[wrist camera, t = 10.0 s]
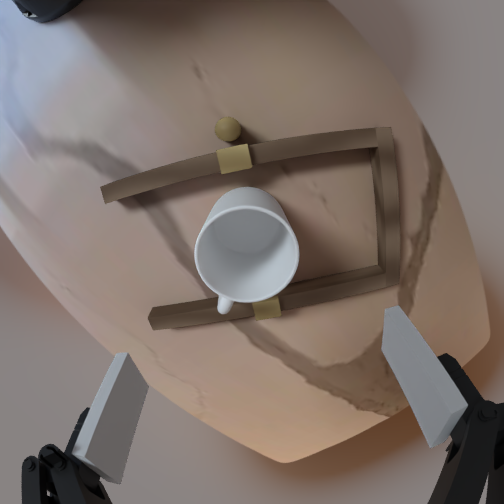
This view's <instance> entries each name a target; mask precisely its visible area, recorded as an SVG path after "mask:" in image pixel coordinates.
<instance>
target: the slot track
mask: <svg viewBox="0 0 504 504" xmlns="http://www.w3.org/2000/svg"><path fill="white" fill-rule="evenodd" d="M215 133H216V135H217V136H218V138H219V139H221V140H223V141H234V140H236V139H237V138H238V137H239V136H240V134H241V127H240V124H239V122H238V121H237V120H236V119H234V118H232V117H224V118H222V119H220V120H219V121H218V122H217V124H216V126H215ZM368 147H369V150H370V157H371V165H372V173H373V183H374V193H375V205H376V220H377V240H378V265H375V266H371V267H366V268H362V269H357V270H353V271H349V272H344V273H339V274H335V275H330V276H325V277H321V278H316V279H311V280H306V281H301V282H296V283H291V284H288V285H287V286H286V287H285V288H284V289H283V290H281V291H280V292H279V293H277V294H276V295H274V296H272V297H270V298H268V299H265V300H262V301H258V302H250V303H244V302H236V301H234V303H233V305H232V307H231V309H230V311H229V312H228V313H227V314H221V313H219V312H218V309H217V306H218V298H219V297H216V298H210V299H204V300H198V301H191V302H185V303H179V304H172V305H166V306H159V307H153V308H152V310H151V312H150V314H149V316H148V320H149V322H150V325H151V327H152V329H153V330H161V329H169V328H177V327H185V326H192V325H199V324H206V323H213V322H220V321H226V320H232V319H238V318H244V317H250V316H255V317H256V321H258V320H263V319H269V318H274V317H279V316H282V315H281V311H283V310H288V309H293V308H298V307H303V306H308V305H313V304H317V303H322V302H326V301H331V300H335V299H340V298H344V297H348V296H353V295H357V294H361V293H365V292H369V291H373V290H377V289H381V288H385V287H389V286H393V285H396V284H399V276H400V210H399V192H398V179H397V168H396V159H395V150H394V143H393V136H392V129H391V127H382V128H368V129H356V130H346V131H336V132H328V133H320V134H312V135H305V136H298V137H292V138H286V139H280V140H274V141H268V142H263V143H258V144H252V145H247V144H243V145H238V146H233V147H229V148H224V149H220V150H216V152H215V153H211V154H207V155H203V156H199V157H195V158H191V159H187V160H184V161H180V162H176V163H173V164H169V165H166V166H162V167H159V168H155V169H152V170H149V171H146V172H142V173H139V174H136V175H133V176H130V177H127V178H124V179H121V180H118V181H115V182H112V183H109V184H107V185H104V186H101V187H100V188H101V191H102V195H103V198H104V202H105V204H106V203H109V202H112V201H115V200H119V199H122V198H125V197H128V196H131V195H135V194H138V193H141V192H145V191H148V190H152V189H155V188H159V187H162V186H166V185H170V184H173V183H177V182H181V181H185V180H189V179H193V178H197V177H201V176H205V175H209V174H213V173H218V172H221V174H225V173H230V172H235V171H239V170H244V169H249V168H252V165H255V164H260V163H266V162H271V161H276V160H282V159H288V158H294V157H300V156H306V155H313V154H319V153H326V152H334V151H341V150H350V149H358V148H368Z"/></svg>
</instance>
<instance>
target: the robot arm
mask: <svg viewBox="0 0 504 504" xmlns="http://www.w3.org/2000/svg"><path fill="white" fill-rule="evenodd" d="M12 1H13V2H14V3H15V4H16V6H17V7H18V8H19V10H20V11H21V12H22V13H23V15H24V16H25V17H27V18H29V19H31V20H34V21H36V22H46V21H50V20H53V19H55V18H57V17H59V16H61V15H63V14H65V13H66V12H68V11H69V10H71V9H72V8H74V7H75V6H76V5H77V4H79V3H80V2H81V1H82V0H12ZM381 350H382V352H383V354H384V356H385V357H386V359H387V361H388V363H389V365H390V367H391V369H392V371H393V372H394V374H395V376H396V378H397V380H398V382H399V384H400V386H401V388H402V390H403V392H404V394H405V396H406V398H407V400H408V402H409V404H410V406H411V408H412V410H413V412H414V414H415V416H416V418H417V420H418V423H419V425H420V427H421V429H422V431H423V434H424V436H425V438H426V440H427V442H428V445H429V447H430V448H432V447H435V446H436V445H439V444H441V443H443V442H445V441H446V440H447V438H448V436H449V435H451V437H452V442H451V443H450V444H449V446H448V447H447V449H446V451H448V450H449V451H448V454H447V457H446V460H445V463H444V466H443V469H442V471H441V474H440V476H439V479H438V482H437V484H436V486H435V489H434V491H433V493H432V495H431V498H430V500H429V502H428V504H479V501H480V498H481V495H482V492H483V489H484V486H485V483H486V479H487V476H488V488H487V498H486V504H504V403H500V404H495V403H494V402H491V401H485V400H484V399H483V398H482V397H481V395H480V393H479V392H478V390H477V389H476V387H475V386H474V385H473V383H472V382H471V381H470V379H469V377H468V376H467V375H466V373H465V372H464V370H463V369H461V366H460V365H459V363H458V362H457V361H456V359H455V358H453V357H452V356H450V355H449V354H447V353H445V354H443V355H441V356H438V357H436V355H435V354H434V352H433V351H432V350H431V348H430V347H429V345H428V344H427V343H426V341H425V340H424V338H423V337H422V336H421V334H420V333H419V332H418V330H417V329H416V328H415V326H414V325H413V324H412V322H411V321H410V320H409V318H408V317H407V316H406V314H405V313H404V312H403V310H402V309H401V308H400V307H399V305H398V306H394V307H391V308H387V309H385V316H384V328H383V339H382V348H381ZM148 388H149V386H148V384H147V383H146V381H145V380H144V378H143V376H142V375H141V373H140V372H139V370H138V368H137V367H136V365H135V363H134V362H133V360H132V358H131V357H130V355H129V353H116V355H115V357H114V359H113V362H112V363H111V366H110V367H109V370H108V372H107V374H106V376H105V378H104V380H103V382H102V384H101V386H100V388H99V390H98V393H97V395H96V397H95V399H94V402H93V404H92V406H91V408H86V409H85V410H84V411H83V413H82V414H81V415H80V417H79V419H78V422H77V424H76V426H75V428H74V429H75V430H74V431H73V433H72V435H71V438H70V440H69V442H68V445H67V447H66V450H65V452H64V453H63V452H62V451H61V450H60V449H59V448H58V447H56V446H55V445H54V444H48V445H45V446H44V447H42V449H41V450H40V452H39V455H38V458H36V457H35V456H29V457H27V458H26V459H25V460H24V462H23V465H22V504H112V502H111V500H110V498H109V497H108V494H107V492H106V490H105V488H104V486H103V485H102V483H101V482H100V481H99V480H100V476H101V477H102V478H103V479H105V480H106V481H108V482H112V483H116V484H121V481H122V477H123V473H124V469H125V465H126V462H127V458H128V455H129V451H130V447H131V444H132V440H133V437H134V433H135V430H136V427H137V423H138V420H139V417H140V413H141V410H142V407H143V404H144V401H145V397H146V394H147V391H148ZM488 472H489V474H488ZM47 490H48V491H49V492H50V496H47Z"/></svg>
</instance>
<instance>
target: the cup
mask: <svg viewBox="0 0 504 504" xmlns="http://www.w3.org/2000/svg"><path fill="white" fill-rule="evenodd" d="M194 255H195V263H196V267H197V270H198V273H199V275H200V277H201V278H202V280H203V281H204V282H205V284H206V285H207V286H208V287H209V288H210V289H211V290H212V291H214V292H215V293H217V294H218V295H219V298H218V306H217V309H218V312H219V313H221V314H227V313H228V312H229V311H230V309H231V307H232V305H233V303H234V301H236V302H244V303H250V302H258V301H262V300H265V299H268V298H270V297H272V296H274V295H276V294H277V293H279V292H280V291H281V290H283V289H284V288H285V287H286V286H287V285H288V284H289V282H290V281H291V280H292V278H293V276H294V274H295V272H296V270H297V267H298V263H299V245H298V241H297V238H296V236H295V234H294V232H293V230H292V228H291V226H290V224H289V222H288V220H287V218H286V216H285V214H284V212H283V210H282V208H281V206H280V204H279V203H278V202H277V200H276V199H275V198H274V197H273V196H271V195H270V194H269V193H267V192H265V191H263V190H261V189H258V188H254V187H240V188H236V189H233V190H231V191H229V192H227V193H225V194H224V195H223V196H222V197H220V198H219V199H218V201H217V202H216V203H215V205H214V206H213V208H212V210H211V212H210V214H209V216H208V218H207V220H206V222H205V223H204V225H203V227H202V229H201V231H200V233H199V235H198V238H197V241H196V245H195V254H194Z"/></svg>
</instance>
